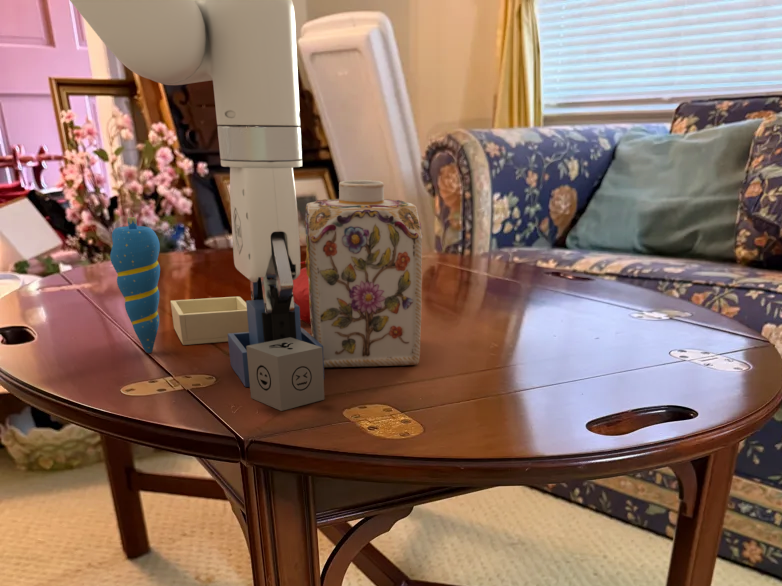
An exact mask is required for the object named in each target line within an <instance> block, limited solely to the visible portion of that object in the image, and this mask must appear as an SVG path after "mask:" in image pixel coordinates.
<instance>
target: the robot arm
mask: <svg viewBox="0 0 782 586" xmlns="http://www.w3.org/2000/svg"><path fill="white" fill-rule="evenodd" d="M69 1H70V2H71V4H72V5H73V7H75V9H76V10H77V11H78V13H79V14H80V15H81V17H82V18H83V19H84V20H85V21H86V22H87V24H88V25H89V27H90V28H91V29H92V30H93V31H94V33H95V34H96V35H97V36H98V37H99V39H100V40H101V41H102V42H103V44H104V45H105V46H106V47H107V49H108V50H109V51H110V52H111V53H112V54H113V56H114V57H115V58H116V59H117V60H118V61H119V62H120V63H121V64H122V65H123V66H125V68H127V69H128V70H130V71H131V72H132V73H134V74H135V75H138V76H139V77H142V78H145V79H147V80H151V81H153V82H155V83H158V84H161V85H165V86H183V85H188V84H189V85H190V84H195V83H203V82H209V81H210V82H211V81H212V85H213V96H214V97H213V98H214V105H215V117H216V125H217V137H218V147H219V158H220V166H221V167H223V168H229V196H230V197H229V198H230V199H229V200H230V215H231V216H230V217H231V234H232V252H233V265H234V267H235V269H236V270H237V271H238V272H239V273H240V274H241V275H243V276H244V277H245V278H246V279H247V280H249V283H250V298H251V300H264V307H265V313H262V322H263V334H264V342H269V341H274V340H279V339H284V338H289V337H291V338H294V339H296V323H295V311H294V310H295V308H294V298H293V280H295V279H296V278H297V277H298V276H299V275H300V270H301V262H302V260H301V239H300V226H299V225H300V224H299V215H298V214H299V213H298V202H297V190H296V183H295V175H294V168H300V167H303V148H302V128H301V112H300V111H301V109H300V90H299V71H298V70H299V68H298V50H297V32H296V31H297V27H296V14H295V13H296V12H295V6H294V2H293V0H69Z"/></svg>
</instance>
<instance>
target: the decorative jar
mask: <svg viewBox="0 0 782 586" xmlns="http://www.w3.org/2000/svg"><path fill="white" fill-rule="evenodd" d="M338 190H339V191H338V198H328V199H326V198H324V199H317V200H316V201H311V202H307V203H306V206H305V215H304V227H305V235H306V237H305V242H306V251H305V260H304V261H305V262H306V264H305V267H306V270H307V275H308V283H309V304H310V319H311V324H310V326H311V327H310V330H311V336H312V337H314V338H315V339H316V340H317V341H318V342H319V343H320V344H322V345H323V354H324V369H325V368H357V367H358V368H363V367H397V366H398V367H399V366H400V367H401V366H417V365H418V364H419V363H420V355H421V331H422V330H421V327H422V283H423V282H422V281H423V278H422V277H423V274H422V273H423V269H422V268H423V267H422V266H423V264H422V262H423V257H422V256H423V245H422V243H423V241H422V240H423V237H424V235H423V232H422V223H421V221H420V219H419V211H418V208H417V206H416V205H415V204H414V203H411V202H406V201H404V200H399V199H394V198H393V199H391V198H385V182H383V181H380V180H373V179H372V180H371V179H350V180H342V181H340V182H339V184H338Z"/></svg>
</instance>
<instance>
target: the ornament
mask: <svg viewBox="0 0 782 586" xmlns="http://www.w3.org/2000/svg"><path fill="white" fill-rule="evenodd" d="M130 212H131V213H132V215H133V216H130ZM127 215H128V217H126V221H127V226H126V225H125V226H118V227H115V228H114V229H113V230H112V233H111V241H112V245H111V250H110V254H109V258H110V259H109V260H110V262H111V265H112V267H113V269H114V270H115V272H116V274H117V277H116V285H117V287H118V289H119V291H120V293H121V294H122V297H123V298H124V308H125V312H126V315H127V316H128V318H129V321H130V323H131V325H132V328H133V331H134V334H135V335H136V336H137V338H138V340H139V343H140V344H141V346H142V348H143V350H144V352H145V353H147V354H151V353H153V351H154V347H155V342H156V339H157V334H158V330H159V326H160V314H159V312H158V307H159V304H160V290H159V287H158V284H159V280H160V276H161V266H160V263H159V261H158V259H159V255H160V249H161V248H160V247H161V246H160V240H159V238H158V235H157V233H156V232H155V231H154V230H153V229H152V228H151V227H148V226H142V225H138V221H137V217H135V213H134V212H133V210H129V211H128V212H127Z"/></svg>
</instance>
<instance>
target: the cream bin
mask: <svg viewBox="0 0 782 586" xmlns="http://www.w3.org/2000/svg"><path fill="white" fill-rule="evenodd" d="M170 309H171V316H172V323H173V329H174V331H175V333H176V335H177V337H178V339H179V340H180V342H181V344H182V346H188V345H189V346H190V345H201V344H215V343H226V342H227V343H228V333H241V332H249V328H248V317H247V305H246V301H245V300H244V299H243V298H242V297H241V296H225V297H222V296H221V297H207V298H195V299H194V298H191V299H175V300H170Z"/></svg>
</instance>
